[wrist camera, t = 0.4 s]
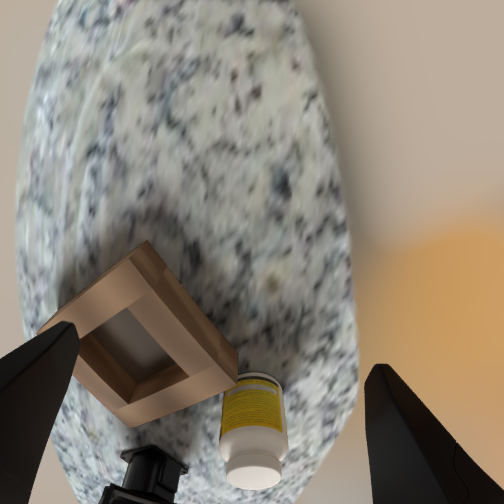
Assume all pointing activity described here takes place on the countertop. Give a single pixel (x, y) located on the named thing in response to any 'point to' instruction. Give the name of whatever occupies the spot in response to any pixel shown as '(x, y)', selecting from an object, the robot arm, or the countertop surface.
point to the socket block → (146, 341)
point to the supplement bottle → (253, 432)
